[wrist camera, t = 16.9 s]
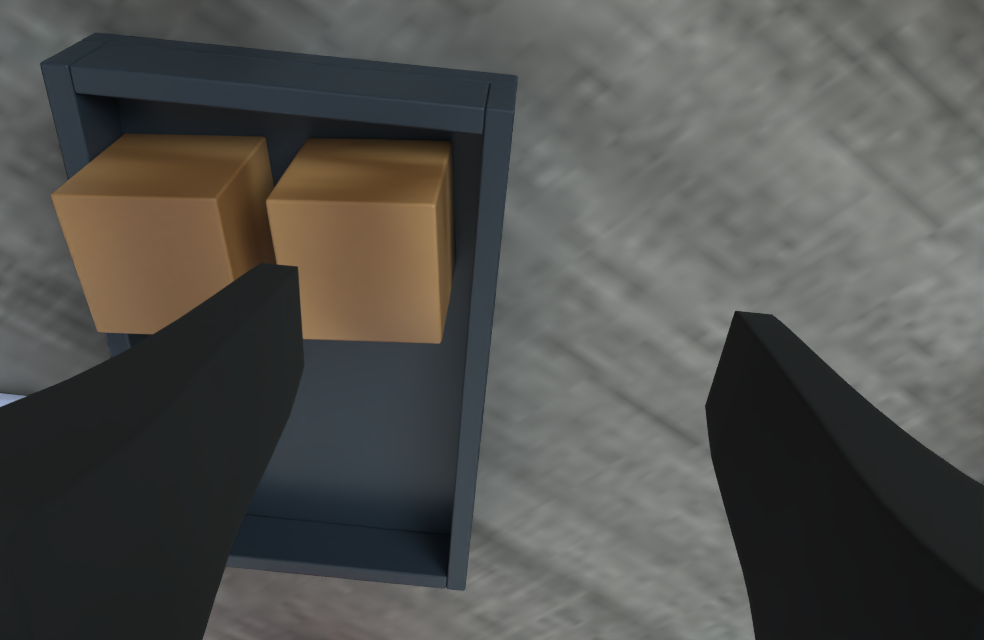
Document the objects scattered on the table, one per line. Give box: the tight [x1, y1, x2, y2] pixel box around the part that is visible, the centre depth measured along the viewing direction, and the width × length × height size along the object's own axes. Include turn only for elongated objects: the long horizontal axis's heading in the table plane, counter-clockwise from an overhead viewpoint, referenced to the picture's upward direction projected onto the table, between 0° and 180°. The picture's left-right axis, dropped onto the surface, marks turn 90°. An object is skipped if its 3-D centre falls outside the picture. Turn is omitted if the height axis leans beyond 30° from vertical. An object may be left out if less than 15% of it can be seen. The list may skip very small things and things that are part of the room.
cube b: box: [266, 138, 456, 344], centre depth 21 cm, size 4×4×4 cm
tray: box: [40, 33, 518, 591], centre depth 25 cm, size 11×18×3 cm, turn 175°
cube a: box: [51, 133, 276, 334], centre depth 21 cm, size 4×4×4 cm
